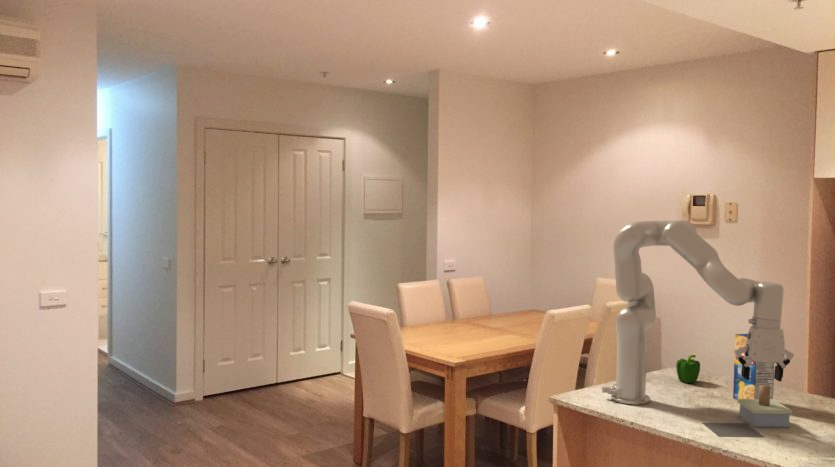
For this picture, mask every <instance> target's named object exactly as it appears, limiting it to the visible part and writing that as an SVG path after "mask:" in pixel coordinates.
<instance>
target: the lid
mask: <svg viewBox="0 0 835 467" xmlns="http://www.w3.org/2000/svg"><path fill="white" fill-rule="evenodd" d="M737 403H738V404H739V405H740V404H741V405H742V406H744V407H745V408H747V409H748V410H750V411H751V412H753V413H758V414H789V415H792V414H793V410H792V409H790V408H789V407H787V406H785V405H784V404H782V403H780V402H778V401H777V400H775V399H774V398H773V399H770V386H767V385H759V399H738V400H737Z"/></svg>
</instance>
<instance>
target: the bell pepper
mask: <svg viewBox="0 0 835 467" xmlns="http://www.w3.org/2000/svg"><path fill="white" fill-rule="evenodd" d="M693 358H694V359H693ZM695 358H696V355H695V354H691V355H689V356H688V357H687V359H685V358H680V359H678V360H677V361H676V363H675V366H676V367H675V368H676V373H677V378H678V380H679V381H681V382H683V383H687V384H694V383H695V382H697V380H698V379H699V375H700V371H701V363H700V360H695Z"/></svg>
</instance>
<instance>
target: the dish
mask: <svg viewBox="0 0 835 467" xmlns="http://www.w3.org/2000/svg"><path fill="white" fill-rule="evenodd" d="M739 418H740V419H741V420H744V422H745V423H747V424H748V425H749V426H751V427H752V428H756V429H789V428H790V414H758V413H753V412H751V411H750V410H748V409H747V408H745V407H744V406H742V405H741V404H739Z"/></svg>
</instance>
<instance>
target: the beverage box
mask: <svg viewBox="0 0 835 467" xmlns="http://www.w3.org/2000/svg"><path fill="white" fill-rule="evenodd" d="M734 334H735V335H734V351H735V350H737V349H739V348H742V347H744V346H746V340H747V335H748V333H734ZM741 356H742V358H743V359H744V358H745V357H746V356H745V352H744V353H742V354H741ZM733 362H734V364H733V387H732V388H733V392H732V397H733V399H734V400H736V401H738V399H759V385H767V386H770V399H774V386H775V385H774V382H775V379H774V373H775V363H767V362H754V361H753V362H752V363H751V364H750V365H749V367H750V377H749V380H746V379H744V378H743V377H742V374H741V373H742V364H741V363H740V362H739V361H738V360H737V357H736V355H735V354H734V361H733Z"/></svg>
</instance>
